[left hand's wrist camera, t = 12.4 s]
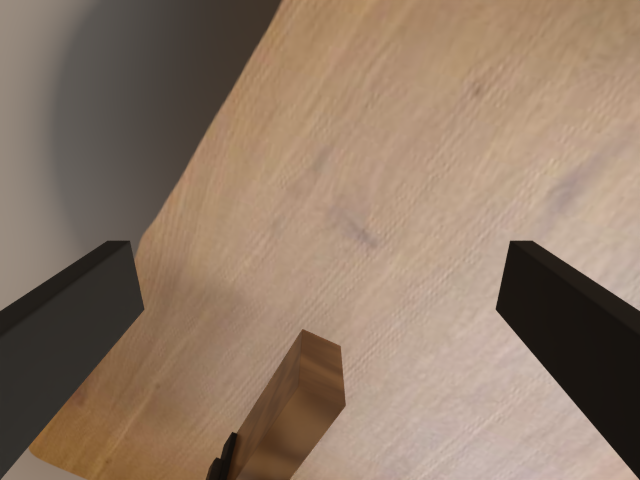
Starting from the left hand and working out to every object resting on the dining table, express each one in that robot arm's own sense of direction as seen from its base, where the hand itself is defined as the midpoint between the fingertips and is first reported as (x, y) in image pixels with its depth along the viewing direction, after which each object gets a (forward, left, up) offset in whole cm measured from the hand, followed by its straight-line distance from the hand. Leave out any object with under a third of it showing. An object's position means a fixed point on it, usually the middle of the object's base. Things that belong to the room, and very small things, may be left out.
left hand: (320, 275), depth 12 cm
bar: (+25, +17, -23) cm, 38 cm away
